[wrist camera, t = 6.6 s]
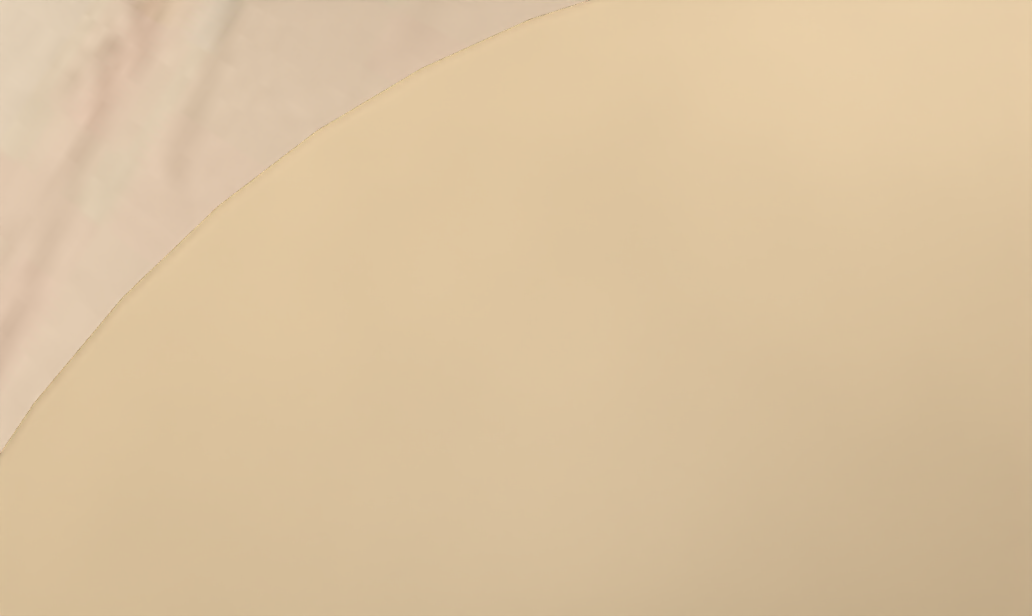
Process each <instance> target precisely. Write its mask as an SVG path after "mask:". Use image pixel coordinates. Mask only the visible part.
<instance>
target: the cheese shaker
mask: <svg viewBox="0 0 1032 616" xmlns="http://www.w3.org/2000/svg"><path fill="white" fill-rule="evenodd" d="M0 616H1032V0H588V1H585V2H582V3H578V4H575V5H572V6H569V7H566V8H563V9H560V10H557V11H554V12H551V13H548V14H544V15H541V16H538V17H535V18H532V19H529V20H527V21H525V22H522V23H520V24H518V25H516V26H514V27H511V28H509V29H507V30H505V31H503V32H500V33H498V34H496V35H494V36H492V37H489V38H487V39H485V40H483V41H480V42H478V43H476V44H474V45H472V46H469V47H467V48H465V49H463V50H461V51H458V52H456V53H454V54H452V55H450V56H447V57H445V58H443V59H441V60H439V61H436V62H434V63H432V64H430V65H427V66H425V67H423V68H421V69H419V70H418V71H416V72H414V73H413V74H411V75H409V76H408V77H406V78H404V79H403V80H401V81H399V82H397V83H396V84H394V85H392V86H391V87H389V88H387V89H386V90H384V91H382V92H381V93H379V94H377V95H376V96H374V97H372V98H371V99H369V100H367V101H366V102H364V103H362V104H361V105H359V106H357V107H356V108H354V109H352V110H351V111H349V112H347V113H346V114H344V115H342V116H341V117H339V118H337V119H336V120H334V121H332V122H331V123H329V124H327V125H325V126H324V127H322V128H320V129H319V130H317V131H316V132H315V133H313V134H312V135H311V136H309V137H308V138H307V139H305V140H304V141H303V142H301V143H300V144H299V145H297V146H296V147H295V148H294V149H292V150H291V151H290V152H288V153H287V154H286V155H284V156H283V157H282V158H280V159H279V160H278V161H277V162H275V163H274V164H273V165H271V166H270V167H269V168H267V169H266V170H265V171H263V172H262V173H261V174H259V175H258V176H257V177H256V178H254V179H253V180H252V181H250V182H249V183H248V184H246V185H245V186H244V187H242V188H241V189H240V190H238V191H237V192H236V193H235V194H233V195H232V196H231V197H229V198H228V199H227V200H225V201H224V202H223V203H221V204H220V205H219V206H218V207H217V208H215V209H214V210H213V211H212V212H211V213H210V214H209V215H208V216H207V217H206V218H205V219H204V220H203V221H202V222H201V223H200V224H199V225H198V226H197V227H196V228H195V229H194V230H192V231H191V232H190V233H189V234H188V235H187V236H186V237H185V238H184V239H183V240H182V241H181V242H180V243H179V244H178V245H177V246H176V247H175V248H174V249H173V250H172V251H171V252H169V253H168V254H167V255H166V256H165V257H164V258H163V259H162V260H161V261H160V262H159V263H158V264H157V265H156V266H155V267H154V268H153V269H152V270H151V271H150V272H149V273H148V274H146V275H145V276H144V277H143V278H142V279H141V280H140V281H139V282H138V283H137V284H136V285H135V286H134V287H133V288H132V289H131V290H130V291H129V292H128V293H127V294H126V295H125V296H123V298H122V299H121V300H120V301H119V302H118V304H117V305H116V306H115V307H114V308H113V309H112V311H111V312H110V313H109V314H108V315H107V317H106V318H105V319H104V320H103V321H102V323H101V324H100V325H99V326H98V327H97V329H96V330H95V331H94V332H93V333H92V335H91V336H90V337H89V338H88V339H87V341H86V342H85V343H84V344H83V345H82V346H81V348H80V349H79V350H78V351H77V352H76V354H75V355H74V356H73V357H72V358H71V360H70V361H69V362H68V363H67V364H66V366H65V367H64V368H63V369H62V370H61V372H60V373H59V374H58V375H57V376H56V377H55V379H54V380H53V381H52V382H51V383H50V385H49V386H48V387H47V388H46V389H45V391H44V392H43V393H42V394H41V395H40V397H39V398H38V399H37V400H36V401H35V403H34V404H33V405H32V407H31V408H30V410H29V411H28V413H27V414H26V416H25V417H24V419H23V420H22V422H21V423H20V425H19V426H18V428H17V429H16V431H15V432H14V434H13V435H12V437H11V438H10V440H9V441H8V442H7V444H6V445H5V447H4V448H3V450H2V451H1V453H0Z"/></svg>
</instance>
